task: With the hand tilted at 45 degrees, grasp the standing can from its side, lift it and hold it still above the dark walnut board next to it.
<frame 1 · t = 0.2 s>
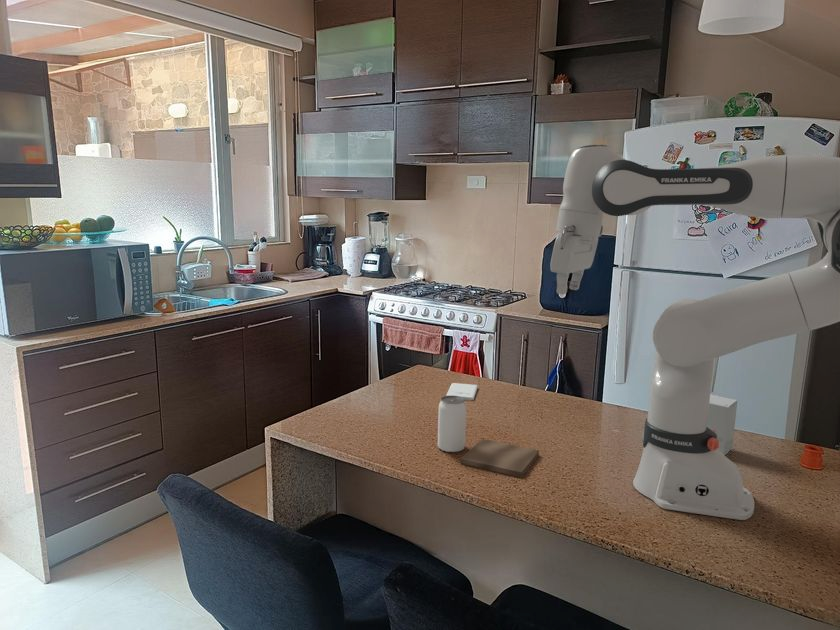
hand: (567, 291, 128), 39 cm above the counter, tool pointing down, fingers open, 8 cm apart
walnut board: (500, 459, 138), on the counter
external hard drive: (461, 395, 184), on the counter
can: (451, 448, 144), on the counter
supplement box: (711, 450, 146), on the counter
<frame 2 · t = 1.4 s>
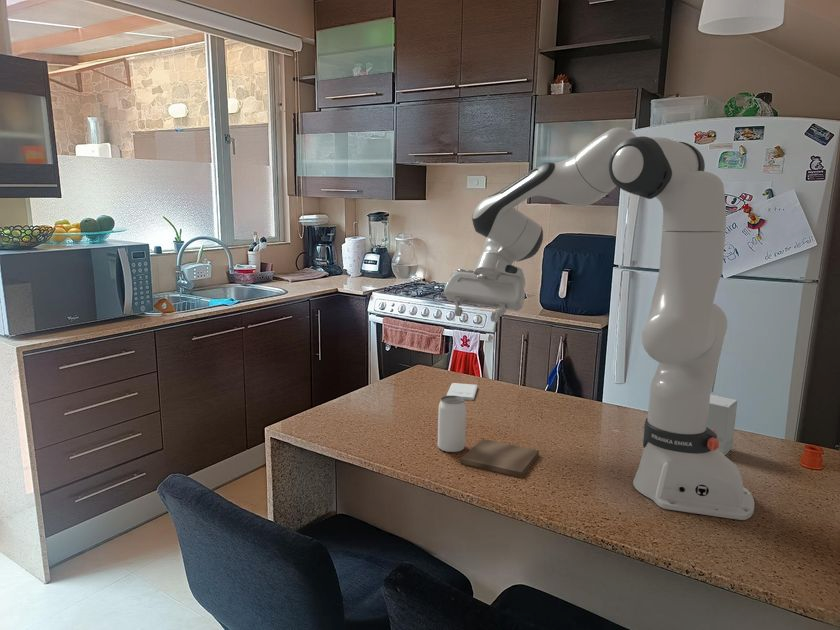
hand: (475, 317, 148), 29 cm above the counter, tool tilted 45°, fingers open, 8 cm apart
nothing on the counter moved.
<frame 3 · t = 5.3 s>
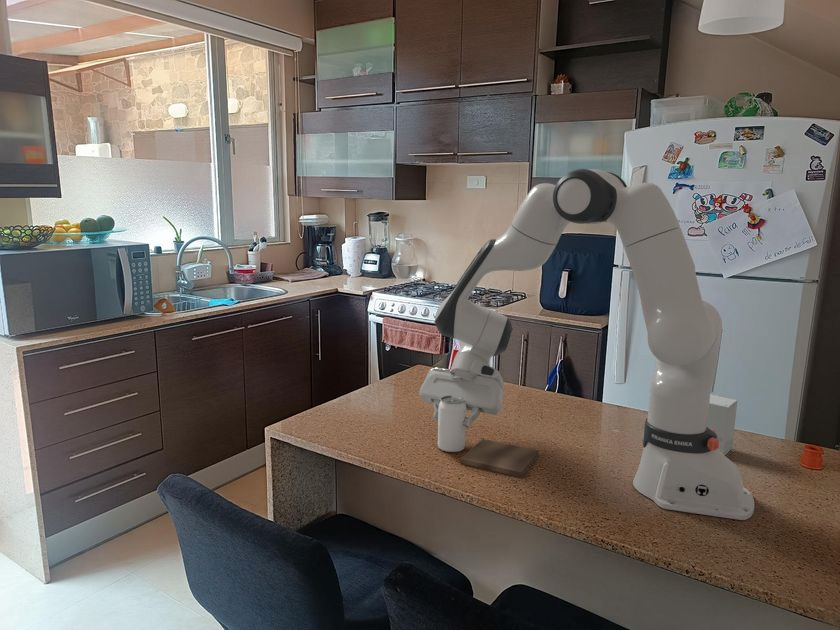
hand: (450, 422, 142), 6 cm above the counter, tool tilted 45°, fingers open, 6 cm apart
can: (451, 448, 144), on the counter, touching gripper
everything else where it was.
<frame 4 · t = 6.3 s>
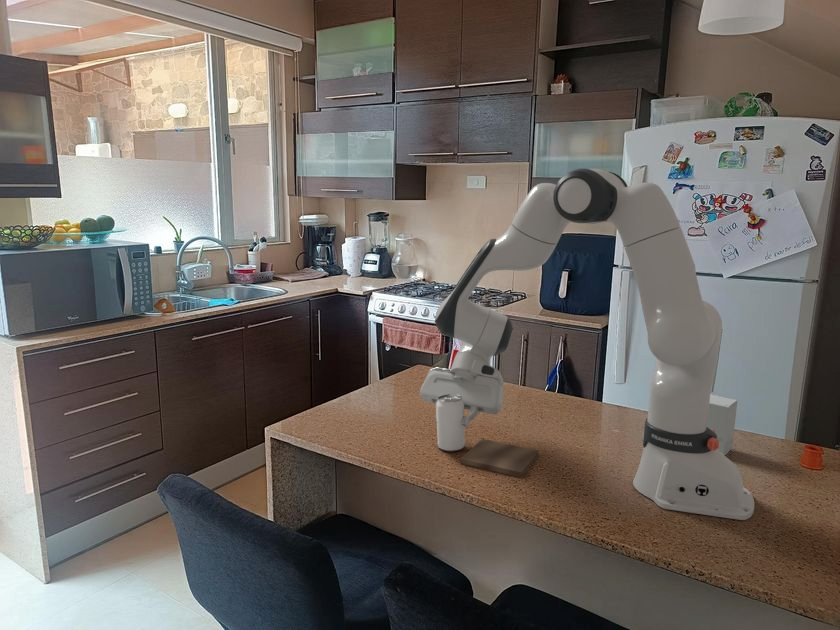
hand: (451, 422, 142), 6 cm above the counter, tool tilted 45°, fingers closed on can, 5 cm apart
can: (451, 447, 144), on the counter, touching gripper
everything else where it was.
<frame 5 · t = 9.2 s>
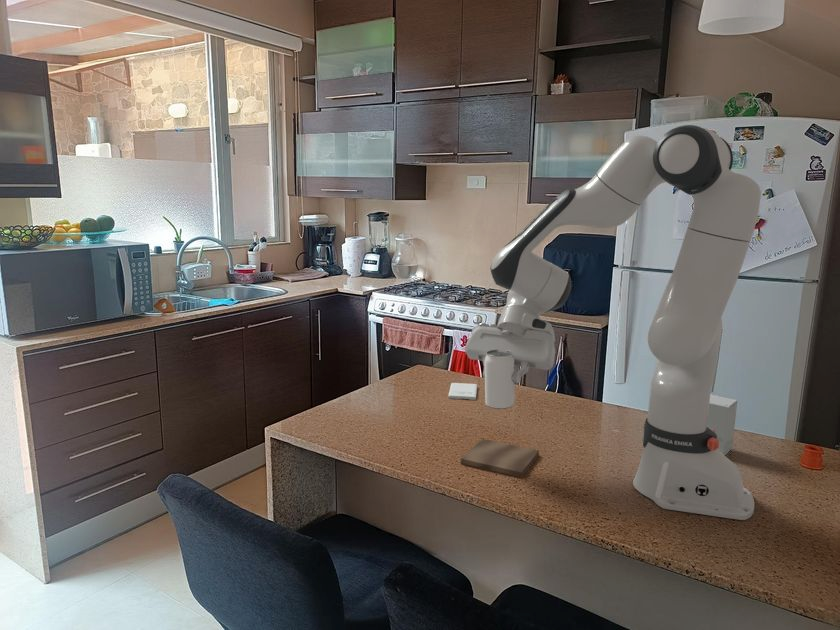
hand: (500, 379, 133), 19 cm above the counter, tool tilted 45°, fingers closed on can, 5 cm apart
can: (499, 405, 135), point 13 cm above the counter, touching gripper
everything else where it was.
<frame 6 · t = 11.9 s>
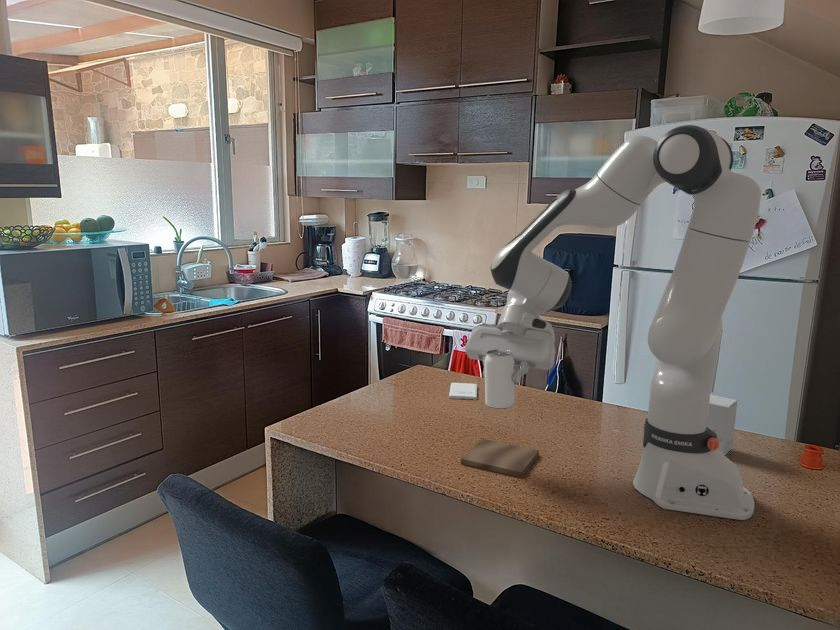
hand: (500, 378, 133), 19 cm above the counter, tool tilted 45°, fingers closed on can, 5 cm apart
can: (499, 405, 135), point 13 cm above the counter, touching gripper
everything else where it was.
at the end: the gripper is holding can; can inside the target area on the walnut board (0.7 cm from its centre), point 12.8 cm above the walnut board's base; can tilted 3° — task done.
